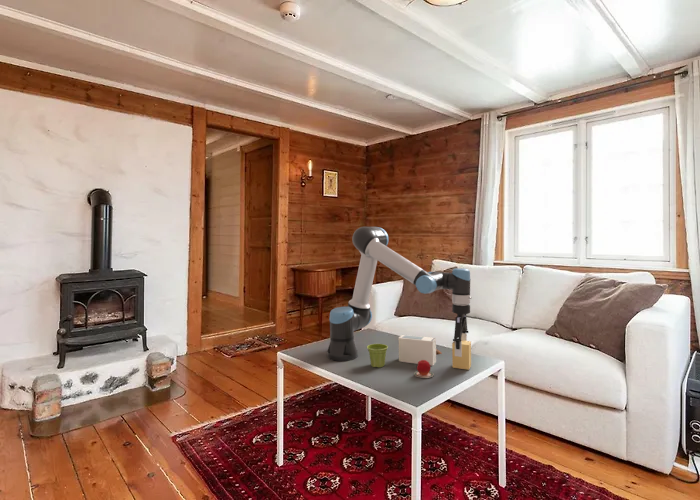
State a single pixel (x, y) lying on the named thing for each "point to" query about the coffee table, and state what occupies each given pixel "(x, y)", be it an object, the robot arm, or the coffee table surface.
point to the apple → (423, 369)
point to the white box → (417, 349)
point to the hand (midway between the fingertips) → (460, 351)
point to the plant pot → (377, 354)
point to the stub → (465, 360)
